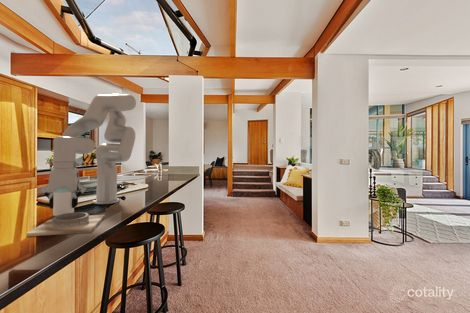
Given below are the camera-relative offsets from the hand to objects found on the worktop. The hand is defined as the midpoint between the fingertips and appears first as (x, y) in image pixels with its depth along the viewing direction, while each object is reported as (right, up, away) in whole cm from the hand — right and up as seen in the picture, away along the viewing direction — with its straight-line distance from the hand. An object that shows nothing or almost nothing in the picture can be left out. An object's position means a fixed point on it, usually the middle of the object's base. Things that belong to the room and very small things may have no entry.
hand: (63, 207), depth 94 cm
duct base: (+12, -4, -12) cm, 17 cm away
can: (0, -4, 0) cm, 4 cm away
